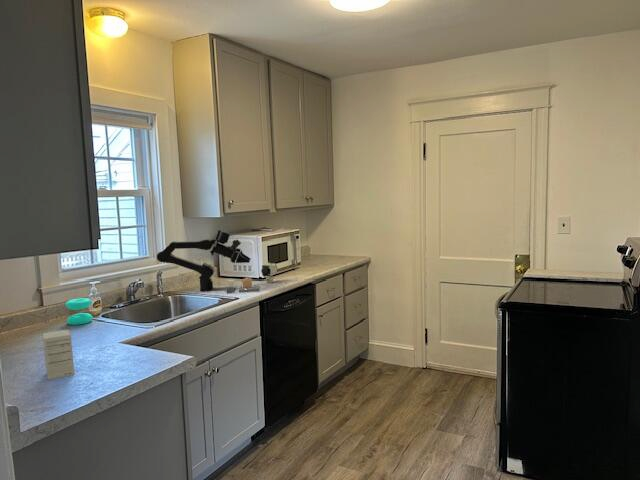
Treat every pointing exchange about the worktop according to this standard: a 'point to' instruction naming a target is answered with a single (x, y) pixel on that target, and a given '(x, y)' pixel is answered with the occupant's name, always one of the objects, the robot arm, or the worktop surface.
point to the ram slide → (230, 283)
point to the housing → (247, 282)
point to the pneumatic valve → (269, 271)
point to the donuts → (80, 317)
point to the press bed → (248, 289)
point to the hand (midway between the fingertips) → (250, 260)
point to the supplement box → (58, 354)
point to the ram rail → (230, 289)
